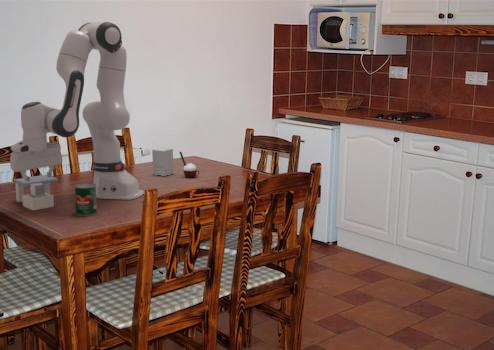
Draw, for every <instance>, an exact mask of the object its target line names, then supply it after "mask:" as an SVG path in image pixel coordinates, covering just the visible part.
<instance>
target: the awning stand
mask: <svg viewBox="0 0 494 350" xmlns="http://www.w3.org/2000/svg"><path fill="white" fill-rule="evenodd" d="M29 177H30V181H27V182H26V181H24V177H21V178H15V179H13V180H14V183H15V197H16V200H15V201H16V202H18V203H21V202H22V207H24V208H26V209H28V210H31V211H37V210H43V209H49V208H54V207H55V202H54V195H53V194H51V189H50V188H51V186H50V185H51V184H52V183H57V182H59V178H57V177H54V176H52V177H47V174H41V175H40V174H39V175H35V176H29ZM35 183H42V184H44V186H45V196H42V197H36V198H33V197H31V193H27V194H25V188H28V187H30V184H35Z"/></svg>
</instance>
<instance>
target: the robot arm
mask: <svg viewBox="0 0 494 350" xmlns="http://www.w3.org/2000/svg"><path fill="white" fill-rule="evenodd" d="M122 36H123V35H122V31H121V29H120V28H119V27H118V26H117V25H116V24H115V23H113V22H109V21H94V22H86V23H84V24H83V25H81V26H80V27H79V28H78V29H77V30H75V29H74V30H70V31H69V32H68V33H67V34H66V36H65V38H64V40H63V42H62V44H61V47H60V50H59V53H58V56H57V60H56V65H55V66H56V72H57V74H58V75H59V76H60V77H61V79H62V80H63V81H64V83H65V94H64V97H63V104H62V108H61V109H58V108H54V107H50V106H48V105H45V104H44V103H42V102H40V101H30V102H29V103H26V104H24V105H23V106H22V107H21V111H20V123H21V124H20V125H21V129H22V131H23V132H22V139H21V140H20V141H19V142H17V143H16V142H15V143H14V144H12V145H11V146H10V149H11V150H10V151H11V153H10V157H9V160H10V161H9V162H10V169H11V170H12V171H13V172H15V173H18V172H20V174H21V175H22V176H23V178H24V181H26V182H27V181H30V177H31V176H29V175H27V171H29V170H35V169H40V168H41V169H42V168H47V167H48V168H49V170H48V171H47V172H46V175H47V177H53V171H54V169H55V166H58V165H61V164H62V163H63V156H62V155H63V154H62V152H61V150H62V149H61V148H62V146H61V144H60V142H58V141H50V142H48V140H47V139H48V137H47V134H49V133H51V134H54V135H57V136H60V137H62V138H70V137H72V136H74V135H75V134H76V133H77V132H78V130H79V128H80V107H81V102H82V97H83V93H84V84H85V71H86V66H87V63H88V60H89V56H90V53H91V52H92V50H95V51H99V57H100V59H99V64H98V70H97V79H96V88H97V90H98V93H99V97H100V101H97V100H96V101H93V102H88V103H87V104H86V105H85V106H84V107H83V109H82V113H81V114H82V118H83V121H84V122H85V123H86V125H87V127H88V131H89V133H90V137H91V141H92V147H93V161H92V170H93V184H96V199H103V200H124V201H125V200H135V199H139V198H140V197H142V196H144V195H145V191H144V190H142V189H140V186H139V182H138V180H137V179H136V177H134V176H133V175H132V174H130V173H129V172H128V171H127V170H126V169H125V167H126V166H127V162H124V163H123V162H122V160H121V142H120V140H119V139H118V137H117V136H116V133H115V131H120V130H123V129H126V128H127V126H128V125H129V123H130V120H131V117H130V112H129V110H128V109H127V107H126V104H125V103H126V102H125V96H124V90H125V89H124V87H125V86H124V85H125V80H126V79H125V78H126V71H127V49H126V47H125V46H124V45H123V41H122ZM143 194H144V195H143Z"/></svg>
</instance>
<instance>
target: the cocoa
mask: <svg viewBox="0 0 494 350" xmlns="http://www.w3.org/2000/svg"><path fill="white" fill-rule="evenodd" d="M179 155H180V158H181V160H182V162H183V165H184V166H183V175H184V177H185V176H186V178H187V177H193V178H194V176H195V177H197V176H198V175H199V174H200V170H198V169H197V166H196V165H195V164H193V163H191V162H190V163H187V162H186V161H185V159H184V156H183V153H182V151H179ZM197 172H198V173H197Z"/></svg>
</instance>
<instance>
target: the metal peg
mask: <svg viewBox="0 0 494 350" xmlns="http://www.w3.org/2000/svg"><path fill="white" fill-rule="evenodd" d="M29 187H30V194H31V197H33V198H36V197H42V196H45V186H44V184H42V183H35V184H30V186H29Z"/></svg>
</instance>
